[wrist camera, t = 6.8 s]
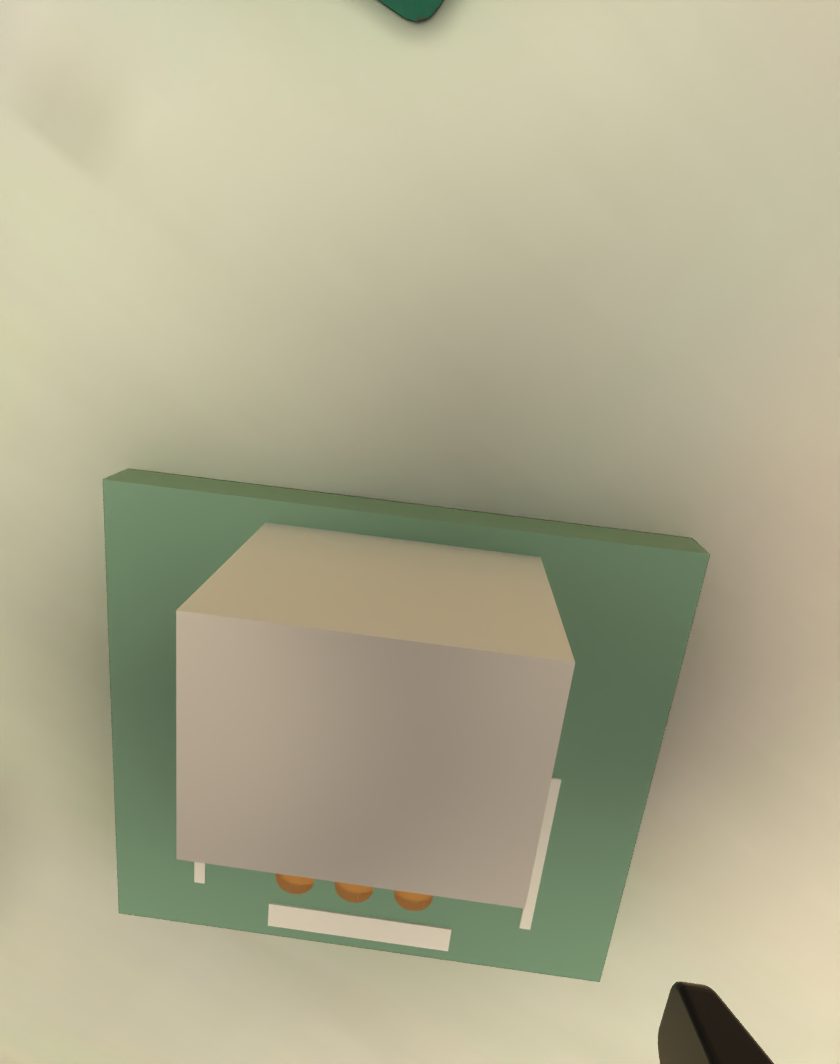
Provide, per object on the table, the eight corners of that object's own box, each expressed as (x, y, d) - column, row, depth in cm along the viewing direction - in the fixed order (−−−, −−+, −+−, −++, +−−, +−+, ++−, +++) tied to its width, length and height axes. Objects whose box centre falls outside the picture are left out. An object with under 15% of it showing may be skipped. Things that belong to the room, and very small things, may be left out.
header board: (692, 538, 16) (710, 555, 15) (592, 944, 20) (599, 984, 19) (127, 468, 16) (100, 479, 15) (138, 880, 20) (117, 914, 19)
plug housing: (540, 557, 15) (575, 662, 10) (507, 742, 17) (524, 908, 12) (265, 522, 15) (176, 610, 11) (258, 708, 17) (176, 859, 12)
